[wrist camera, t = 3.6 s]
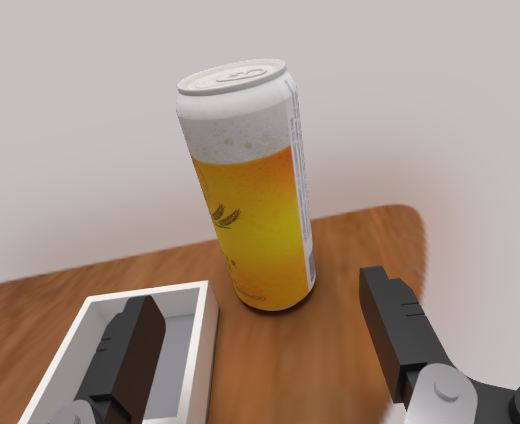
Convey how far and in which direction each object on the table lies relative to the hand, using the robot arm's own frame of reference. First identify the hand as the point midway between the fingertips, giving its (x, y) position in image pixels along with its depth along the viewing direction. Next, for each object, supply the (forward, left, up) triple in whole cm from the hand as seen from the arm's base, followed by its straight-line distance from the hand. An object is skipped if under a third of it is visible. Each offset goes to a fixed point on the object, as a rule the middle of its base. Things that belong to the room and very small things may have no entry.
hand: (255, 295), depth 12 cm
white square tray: (-8, +2, -9) cm, 12 cm away
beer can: (0, +8, -9) cm, 12 cm away
